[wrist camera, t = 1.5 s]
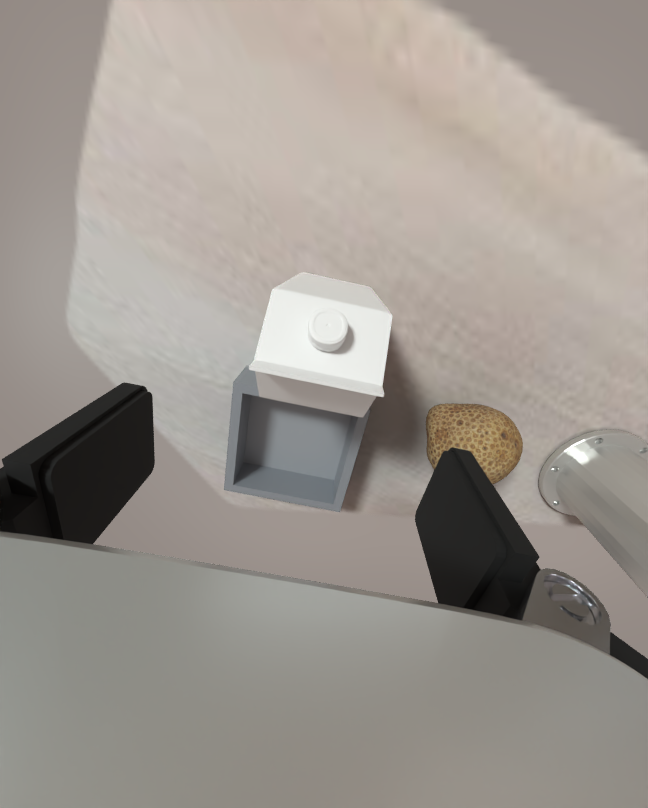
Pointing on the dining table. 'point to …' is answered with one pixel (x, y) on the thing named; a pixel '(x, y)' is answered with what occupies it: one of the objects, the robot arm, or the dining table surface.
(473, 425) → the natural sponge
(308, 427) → the box
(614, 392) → the dining table surface
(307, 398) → the milk carton
